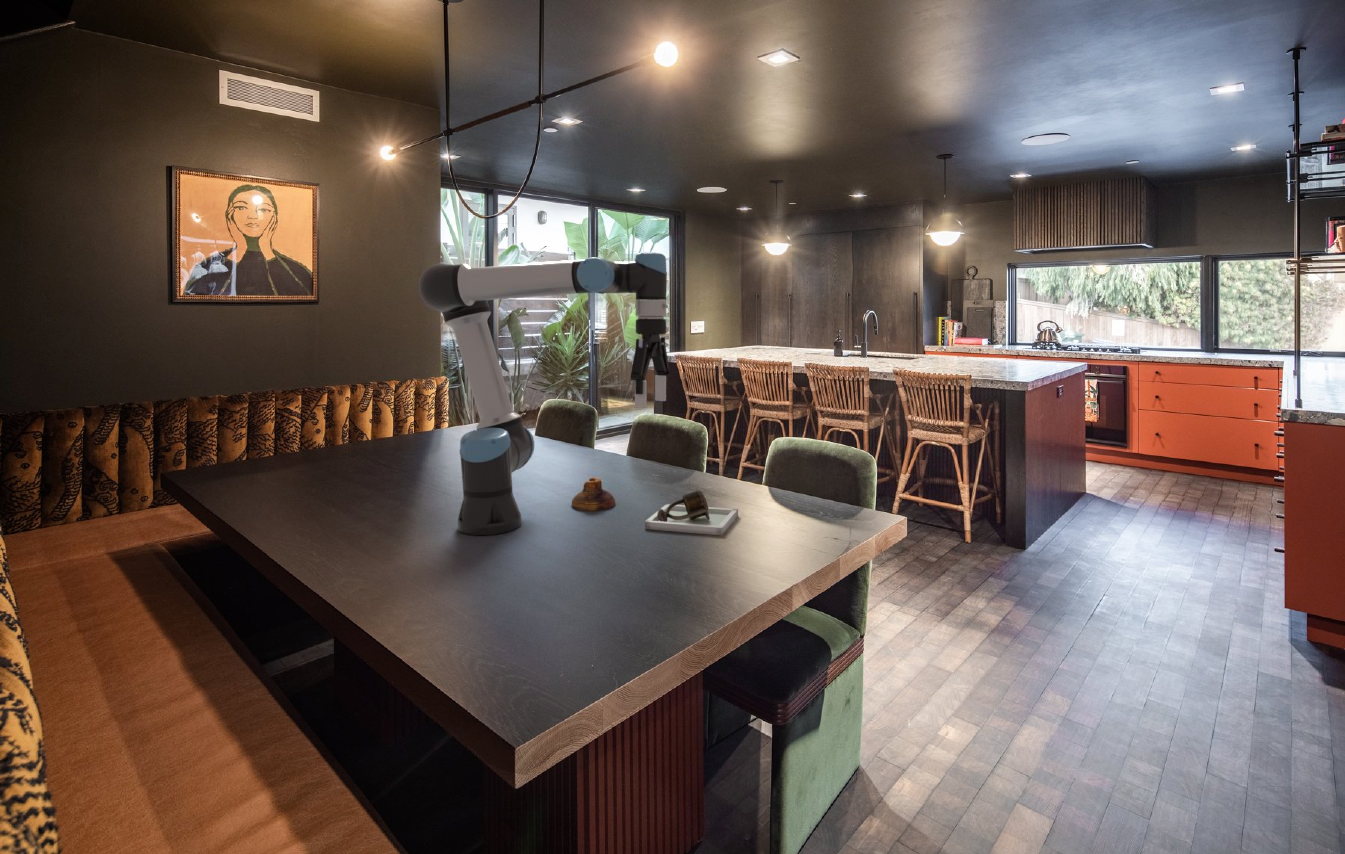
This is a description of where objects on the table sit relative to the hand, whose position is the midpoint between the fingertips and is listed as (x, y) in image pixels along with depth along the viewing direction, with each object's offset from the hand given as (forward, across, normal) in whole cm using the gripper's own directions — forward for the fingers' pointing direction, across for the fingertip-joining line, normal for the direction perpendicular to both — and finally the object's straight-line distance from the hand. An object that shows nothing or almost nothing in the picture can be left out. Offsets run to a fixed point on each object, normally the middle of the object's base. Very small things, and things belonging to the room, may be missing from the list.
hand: (650, 404), depth 178 cm
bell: (+29, +4, +18) cm, 35 cm away
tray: (+28, -4, -13) cm, 31 cm away
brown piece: (+28, -4, -10) cm, 30 cm away
